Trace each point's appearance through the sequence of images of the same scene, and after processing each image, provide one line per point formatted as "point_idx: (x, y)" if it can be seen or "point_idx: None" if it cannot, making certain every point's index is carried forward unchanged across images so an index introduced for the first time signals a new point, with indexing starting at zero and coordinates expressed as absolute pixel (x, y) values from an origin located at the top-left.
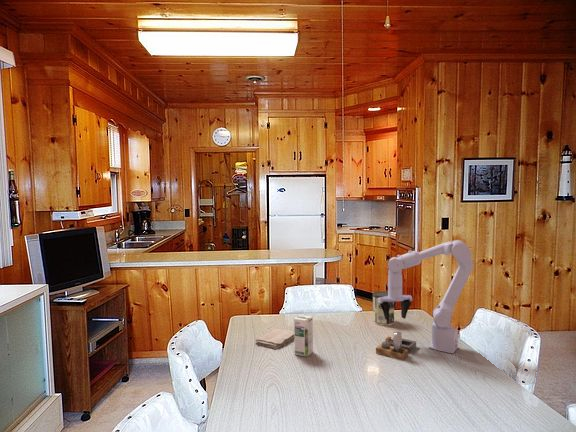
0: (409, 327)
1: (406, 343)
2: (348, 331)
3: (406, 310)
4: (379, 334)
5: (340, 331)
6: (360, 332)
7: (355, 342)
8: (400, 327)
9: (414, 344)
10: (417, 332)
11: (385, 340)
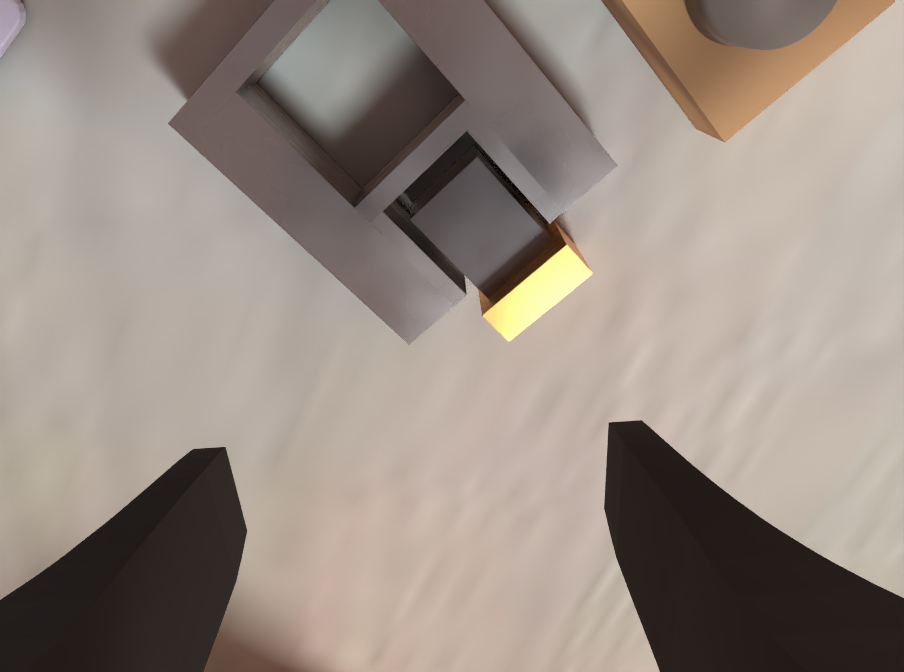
0: None
1: (318, 159)
2: None
3: (80, 573)
4: (489, 532)
5: None
6: None
7: (866, 382)
8: None
9: (224, 63)
10: (41, 518)
11: (586, 265)
